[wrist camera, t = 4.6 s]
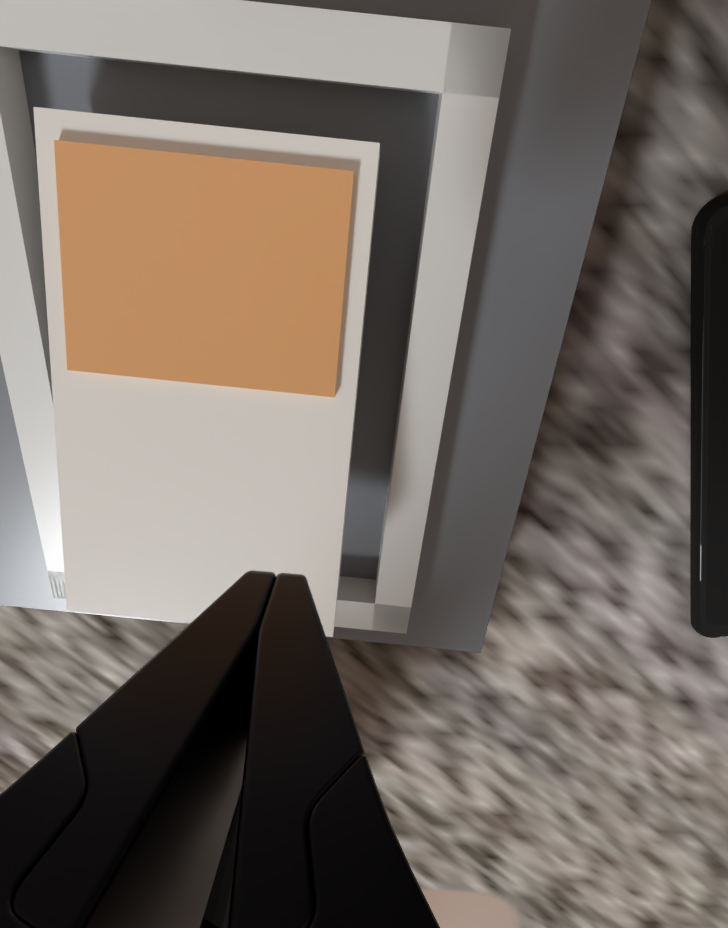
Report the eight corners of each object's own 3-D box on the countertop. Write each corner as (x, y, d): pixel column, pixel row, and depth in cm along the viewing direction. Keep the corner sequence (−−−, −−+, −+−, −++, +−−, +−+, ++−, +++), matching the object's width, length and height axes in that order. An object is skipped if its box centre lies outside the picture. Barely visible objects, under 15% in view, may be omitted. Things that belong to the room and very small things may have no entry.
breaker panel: (470, 587, 21) (485, 684, 18) (45, 545, 21) (-27, 633, 18) (611, -21, 13) (697, -76, 9) (-93, -95, 13) (-288, -181, 9)
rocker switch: (336, 608, 15) (332, 641, 13) (91, 583, 15) (63, 614, 13) (379, 154, 12) (379, 141, 10) (67, 122, 12) (28, 104, 10)
